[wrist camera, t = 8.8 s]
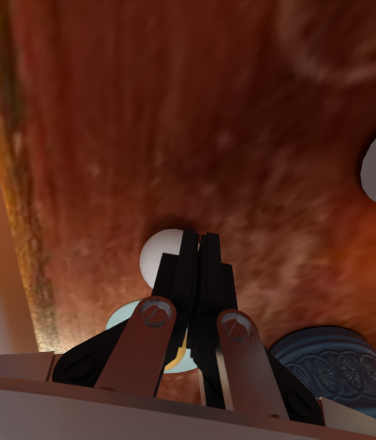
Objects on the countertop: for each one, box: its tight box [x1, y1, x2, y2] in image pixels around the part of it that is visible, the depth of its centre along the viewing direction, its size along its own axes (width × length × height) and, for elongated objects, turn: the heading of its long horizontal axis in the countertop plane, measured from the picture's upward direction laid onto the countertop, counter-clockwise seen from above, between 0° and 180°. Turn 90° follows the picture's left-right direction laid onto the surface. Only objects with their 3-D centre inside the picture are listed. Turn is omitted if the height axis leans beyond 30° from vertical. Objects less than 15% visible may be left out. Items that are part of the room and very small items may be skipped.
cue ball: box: [140, 229, 200, 288], centre depth 21 cm, size 6×6×6 cm
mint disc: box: [106, 299, 197, 373], centre depth 30 cm, size 14×14×1 cm
